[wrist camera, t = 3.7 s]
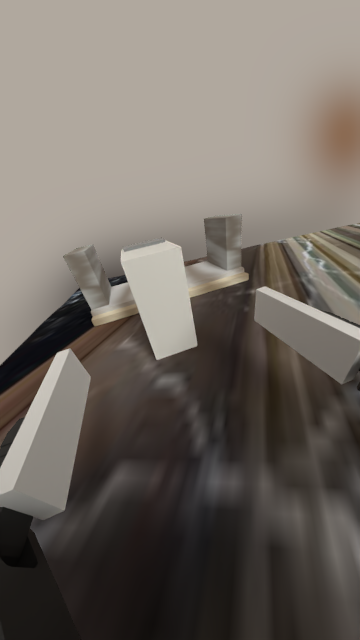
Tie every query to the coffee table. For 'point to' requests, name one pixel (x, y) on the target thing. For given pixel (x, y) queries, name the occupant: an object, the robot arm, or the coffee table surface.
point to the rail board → (200, 276)
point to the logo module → (161, 294)
